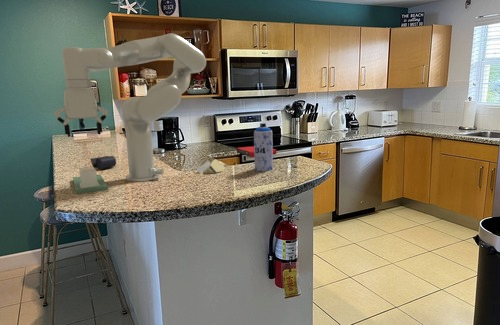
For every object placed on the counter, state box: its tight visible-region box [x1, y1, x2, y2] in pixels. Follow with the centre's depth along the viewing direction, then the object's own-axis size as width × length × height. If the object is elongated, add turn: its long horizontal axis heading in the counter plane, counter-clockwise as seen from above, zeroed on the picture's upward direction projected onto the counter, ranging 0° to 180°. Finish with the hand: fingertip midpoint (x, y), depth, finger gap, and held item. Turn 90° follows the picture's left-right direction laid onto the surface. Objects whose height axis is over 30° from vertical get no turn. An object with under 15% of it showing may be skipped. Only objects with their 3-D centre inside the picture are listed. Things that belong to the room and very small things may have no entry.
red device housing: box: [236, 146, 277, 158], centre depth 183 cm, size 18×14×5 cm
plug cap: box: [78, 166, 98, 188], centre depth 127 cm, size 8×5×6 cm, turn 28°
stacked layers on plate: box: [196, 158, 226, 174], centre depth 148 cm, size 10×9×6 cm
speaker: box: [90, 155, 117, 170], centre depth 164 cm, size 7×5×9 cm
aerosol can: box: [253, 123, 274, 172], centre depth 145 cm, size 8×8×20 cm
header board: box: [72, 174, 109, 195], centre depth 132 cm, size 24×10×1 cm, turn 28°
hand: (84, 135), depth 125 cm, fingers open, 9 cm apart
